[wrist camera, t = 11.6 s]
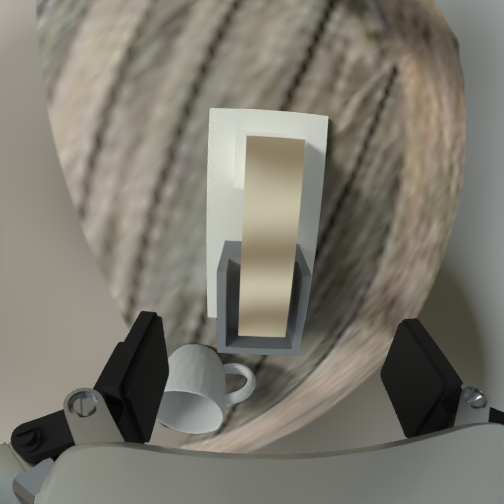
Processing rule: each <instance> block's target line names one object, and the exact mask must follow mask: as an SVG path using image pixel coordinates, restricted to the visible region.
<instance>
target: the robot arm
mask: <svg viewBox="0 0 504 504" xmlns="http://www.w3.org/2000/svg"><path fill="white" fill-rule="evenodd" d="M168 377H169V363H168V357H167V351H166V344H165V337H164V330H163V323H162V318H161V317H159V316H157V313H156V312H147V311H141V312H140V314H139V316H138V318H137V319H136V321H135V323H134V325H133V326H132V328H131V330H130V332H129V334H128V335H127V337H126V339H125V341H124V342H119V343H118V344H117V346H116V347H115V349H114V351H113V353H112V355H111V356H110V358H109V360H108V362H107V364H106V366H105V367H104V369H103V371H102V373H101V375H100V377H99V379H98V381H97V382H96V384H95V386H94V388H93V389H90V388H80V389H76V390H74V391H72V392H71V393H70V394H68V395H67V397H66V398H65V400H64V404H63V408H64V409H63V410H60V411H58V412H55V413H52V414H49V415H46V416H44V417H41V418H38V419H35V420H32V421H30V422H26V423H23V424H21V425H19V426H18V427H17V428H16V429H14V431H13V433H12V436H11V442H10V443H9V444H6V442H4V443H2V444H1V445H0V504H34V500H35V496H36V495H37V494H38V493H39V494H38V496H37V499H36V502H35V504H504V412H501V411H498V410H496V409H494V408H491V407H490V398H489V397H488V394H487V393H486V392H485V391H484V390H483V389H481V388H479V387H477V386H467V387H465V388H464V389H463V390H462V388H461V385H462V384H463V382H462V380H461V379H460V378H459V376H458V375H457V373H456V371H455V370H454V369H453V367H452V366H451V365H450V363H449V361H448V360H447V358H446V357H445V356H444V354H443V353H442V351H441V350H440V349H439V347H438V346H437V345H436V343H435V342H434V340H433V339H432V337H431V336H430V335H429V333H428V332H427V331H426V329H425V328H424V327H423V325H422V324H421V323H420V321H419V320H418V319H416V318H414V319H404V320H403V321H402V323H400V324H399V325H398V328H397V331H396V333H395V336H394V339H393V342H392V344H391V347H390V349H389V352H388V355H387V357H386V360H385V362H384V365H383V367H382V369H381V379H382V382H383V384H384V386H385V389H386V391H387V393H388V395H389V397H390V400H391V402H392V405H393V407H394V409H395V412H396V414H397V417H398V419H399V421H400V424H401V426H402V429H403V431H404V434H405V436H406V437H407V438H408V439H404V440H399V441H394V442H389V443H384V444H379V445H372V446H366V447H360V448H352V449H345V450H336V451H326V452H314V453H298V454H235V453H218V452H206V451H195V450H185V449H176V448H169V447H162V446H154V445H146V444H144V443H145V442H147V443H148V442H149V441H150V438H151V434H152V431H153V427H154V424H155V421H156V417H157V414H158V410H159V407H160V403H161V400H162V397H163V393H164V390H165V387H166V383H167V380H168Z"/></svg>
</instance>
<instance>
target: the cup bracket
mask: <svg viewBox="0 0 504 504" xmlns="http://www.w3.org/2000/svg"><path fill="white" fill-rule="evenodd" d="M327 130H328V116H322V115H314V114H305V113H296V112H284V111H271V110H254V109H221V108H210V118H209V141H208V173H207V305H208V317H213V318H217V353H233V354H254V355H299V351H300V345H301V340H302V334H303V328H304V322H305V318H306V312H307V306H308V300H309V294H310V287H311V280H312V273H313V266H314V259H315V252H316V244H317V236H318V228H319V219H320V210H321V201H322V191H323V181H324V170H325V158H326V145H327ZM247 136H265V137H280V138H292V139H303V140H305V154H304V167H303V180H302V192H301V203H300V214H299V224H298V234H297V244H296V253H295V262H294V271H293V279H292V288H291V296H290V304H289V312H288V319H287V327H286V334H285V337H260V336H238V328H239V299H240V272H241V247H242V223H243V200H244V178H245V157H246V137H247Z"/></svg>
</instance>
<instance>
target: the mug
mask: <svg viewBox="0 0 504 504" xmlns="http://www.w3.org/2000/svg"><path fill="white" fill-rule="evenodd" d="M168 363H169V377H168V380H167V383H166V387H165V390H164V393H163V397H162V400H161V403H160V407H159V410H158V414H157V419H158V420H159V421H160V422H162V423H163V424H164V425H166V426H168V427H171V428H173V429H176V430H178V431H182V432H188V433H206V432H210V431H213V430H215V429H217V428H218V427H219V426H220V425H221V424H222V422H223V419H224V413H225V406H226V404H236V403H239V402H242V401H243V400H245V399H247V398H248V397H249V396H250V395H251V394H252V392H253V391H254V389H255V386H256V379H255V375H254V373H253V372H252V370H251V369H250V368H248V367H247V366H245V365H243V364H238V363H228V364H224V365H223V364H222V362H221V359H220V358H219V356H218V355H217V353H216V352H215V351H214V350H212V349H210V348H208V347H206V346H204V345H199V344H188V345H184V346H182V347H180V348H179V349H177V350H176V351H175V352H174V353H173V354H172V355H171V356H170V357H169V359H168ZM225 374H239V375H243V376H245V377H246V378H247V383H246V385H245V386H244V387H243V388H241V389H240V390H238V391H235V392H232V393H226V380H225Z"/></svg>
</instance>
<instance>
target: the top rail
mask: <svg viewBox="0 0 504 504" xmlns="http://www.w3.org/2000/svg"><path fill="white" fill-rule="evenodd" d="M304 154H305V140H303V139H292V138H280V137H265V136H247V137H246V157H245V178H244V200H243V223H242V247H241V272H240V299H239V328H238V336H260V337H285V334H286V327H287V319H288V312H289V304H290V296H291V288H292V279H293V271H294V262H295V253H296V244H297V234H298V224H299V214H300V203H301V192H302V180H303V167H304Z"/></svg>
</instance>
